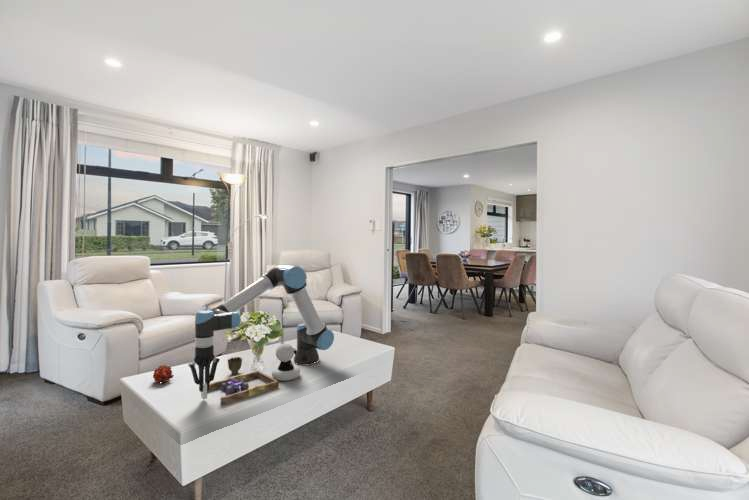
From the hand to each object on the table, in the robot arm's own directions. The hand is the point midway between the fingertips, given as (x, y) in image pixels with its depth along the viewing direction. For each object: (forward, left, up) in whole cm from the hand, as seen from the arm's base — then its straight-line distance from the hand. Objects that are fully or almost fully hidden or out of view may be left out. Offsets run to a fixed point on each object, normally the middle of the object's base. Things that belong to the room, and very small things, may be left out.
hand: (204, 397), depth 157 cm
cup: (-25, -23, -1) cm, 34 cm away
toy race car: (-14, -1, -2) cm, 14 cm away
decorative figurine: (-42, +1, -2) cm, 42 cm away
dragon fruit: (+6, -37, -2) cm, 38 cm away
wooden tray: (-18, 0, -1) cm, 18 cm away
